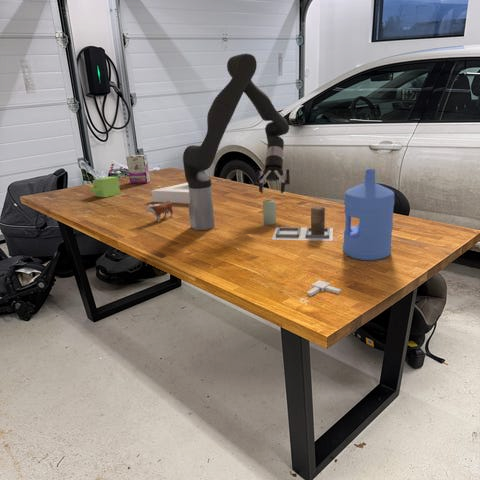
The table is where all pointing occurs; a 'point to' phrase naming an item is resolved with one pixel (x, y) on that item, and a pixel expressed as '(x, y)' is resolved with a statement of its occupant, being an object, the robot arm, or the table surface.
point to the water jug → (368, 220)
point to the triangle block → (172, 194)
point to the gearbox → (106, 186)
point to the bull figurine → (160, 209)
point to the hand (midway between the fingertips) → (271, 192)
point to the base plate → (301, 234)
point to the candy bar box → (138, 169)
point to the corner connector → (322, 288)
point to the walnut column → (318, 220)
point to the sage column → (269, 212)
